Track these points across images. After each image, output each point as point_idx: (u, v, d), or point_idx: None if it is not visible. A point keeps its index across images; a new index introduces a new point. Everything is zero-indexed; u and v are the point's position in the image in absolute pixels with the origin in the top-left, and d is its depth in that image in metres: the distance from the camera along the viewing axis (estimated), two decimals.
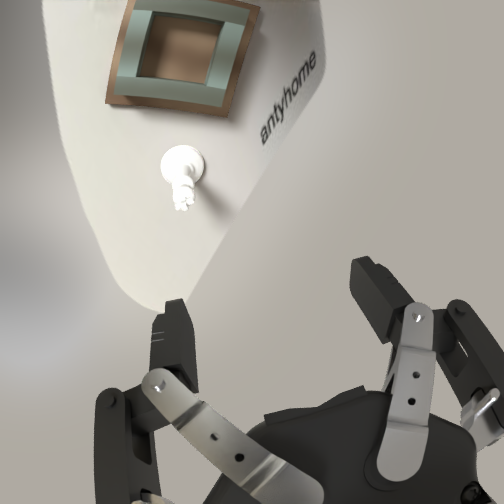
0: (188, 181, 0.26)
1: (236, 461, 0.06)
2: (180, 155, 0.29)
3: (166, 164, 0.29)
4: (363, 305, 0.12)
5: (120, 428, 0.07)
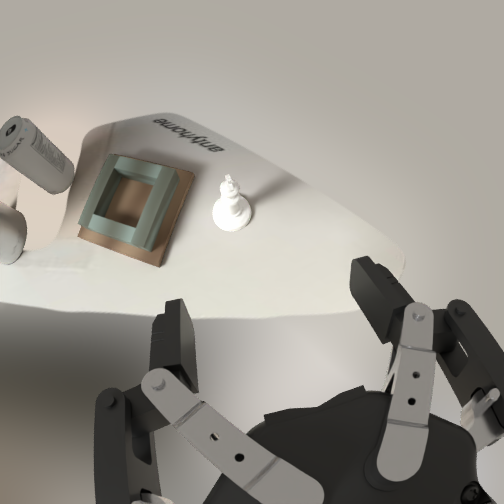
0: None
1: (236, 461, 0.06)
2: (218, 210, 0.36)
3: (224, 223, 0.35)
4: (363, 305, 0.12)
5: (120, 428, 0.07)
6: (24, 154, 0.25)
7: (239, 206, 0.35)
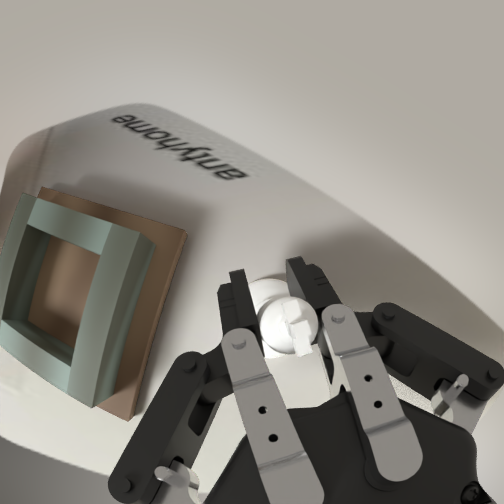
0: None
1: (268, 440, 0.06)
2: None
3: None
4: None
5: (187, 394, 0.08)
6: None
7: None
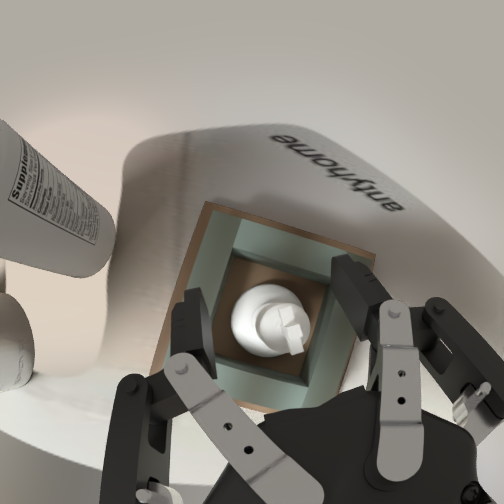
0: None
1: (245, 453, 0.06)
2: (243, 321, 0.18)
3: (255, 347, 0.17)
4: (342, 302, 0.13)
5: (138, 415, 0.07)
6: None
7: None
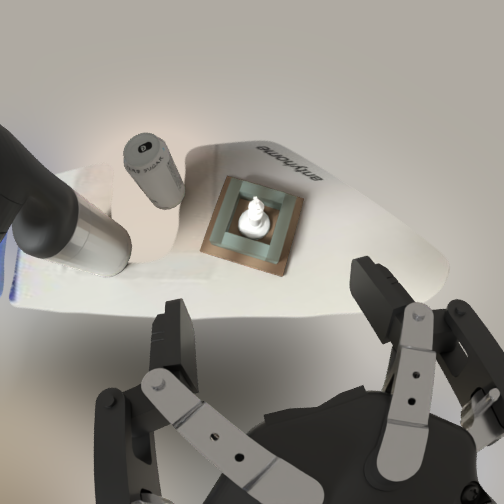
0: None
1: (236, 461, 0.06)
2: (243, 222, 0.43)
3: (248, 233, 0.43)
4: (363, 305, 0.12)
5: (120, 428, 0.07)
6: (160, 173, 0.34)
7: (261, 219, 0.43)
